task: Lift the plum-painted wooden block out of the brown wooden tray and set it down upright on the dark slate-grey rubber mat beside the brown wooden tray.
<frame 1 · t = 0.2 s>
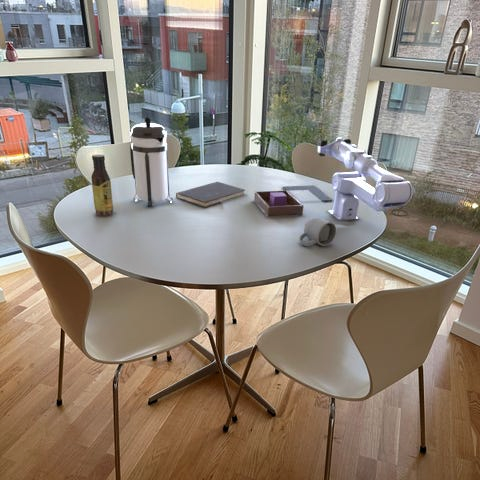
hand: (327, 143, 175), 21 cm above the table, tool horizontal, fingers open, 7 cm apart
brown wooden tray: (277, 209, 174), on the table
mat: (306, 194, 191), on the table
block: (277, 207, 174), point 1 cm above the table, touching brown wooden tray
sauce bottle: (105, 214, 163), on the table
ceramic mug: (315, 243, 148), on the table
coffee press: (150, 201, 177), on the table
hardcover book: (211, 197, 184), on the table
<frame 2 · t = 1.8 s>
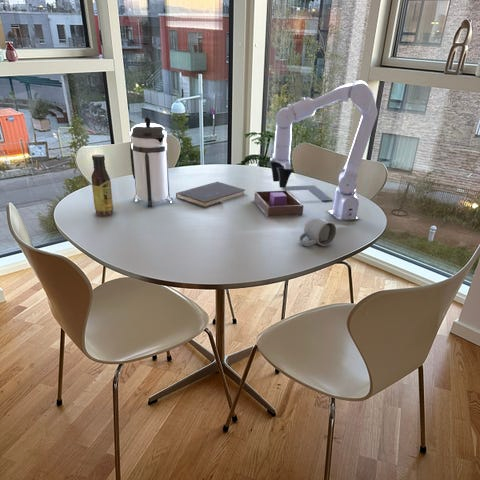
hand: (279, 184, 169), 9 cm above the table, tool pointing down, fingers open, 7 cm apart
nothing on the table moved.
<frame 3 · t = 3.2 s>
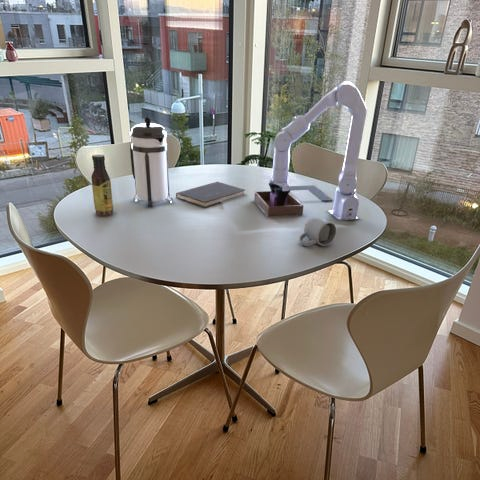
hand: (277, 204, 173), 2 cm above the table, tool pointing down, fingers closed on block, 5 cm apart
block: (277, 207, 174), point 1 cm above the table, touching brown wooden tray, gripper
everything else where it was.
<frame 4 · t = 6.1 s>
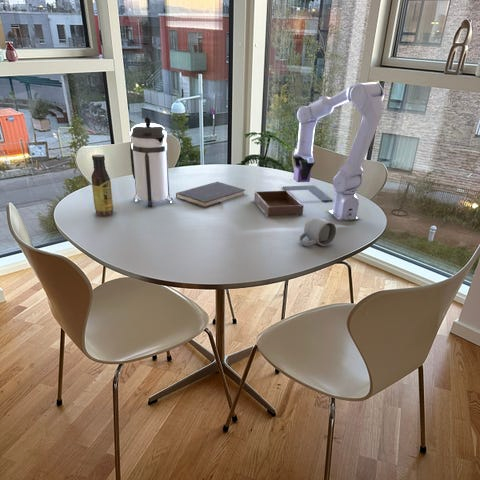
hand: (301, 177, 179), 9 cm above the table, tool pointing down, fingers closed on block, 5 cm apart
block: (301, 180, 180), point 8 cm above the table, touching gripper
everything else where it was.
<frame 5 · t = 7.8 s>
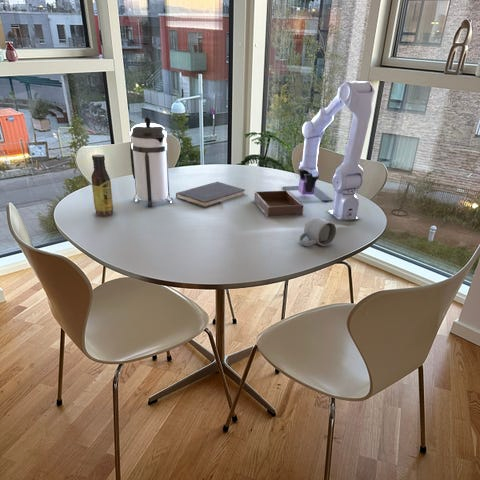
hand: (306, 189, 186), 3 cm above the table, tool pointing down, fingers closed on block, 5 cm apart
block: (306, 192, 186), point 2 cm above the table, touching gripper
everything else where it was.
when the fingers open (2 cm above the table, at t = 8.9 s): block stays where it is, resting on mat.
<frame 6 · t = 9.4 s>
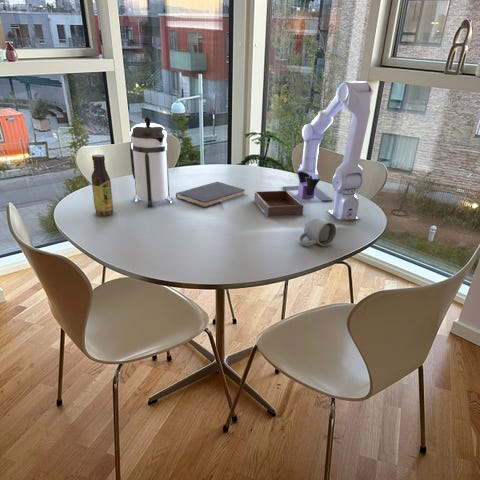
hand: (306, 192, 186), 2 cm above the table, tool pointing down, fingers open, 7 cm apart
block: (305, 196, 187), resting on mat
everything else where it was.
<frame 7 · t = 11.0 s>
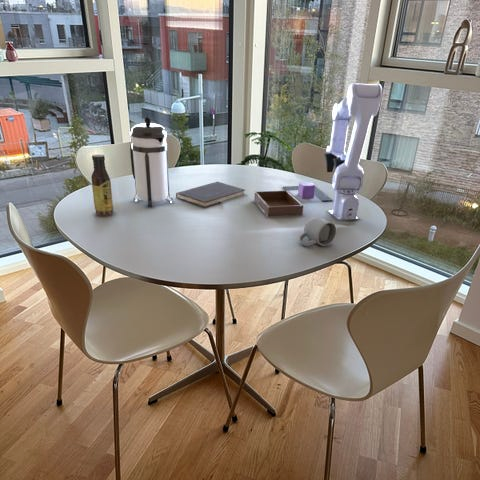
hand: (333, 174, 183), 9 cm above the table, tool pointing down, fingers open, 7 cm apart
nothing on the table moved.
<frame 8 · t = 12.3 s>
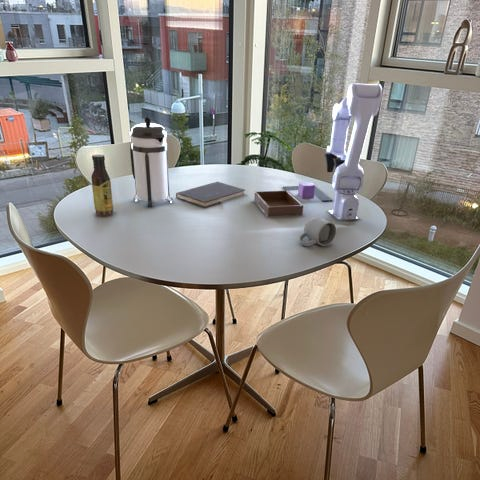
hand: (333, 174, 183), 9 cm above the table, tool pointing down, fingers open, 7 cm apart
nothing on the table moved.
at the end: block inside the target area on the mat (4.5 cm from its centre), point 0.5 cm above the mat's base; block tilted 0°; the gripper is holding nothing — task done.
